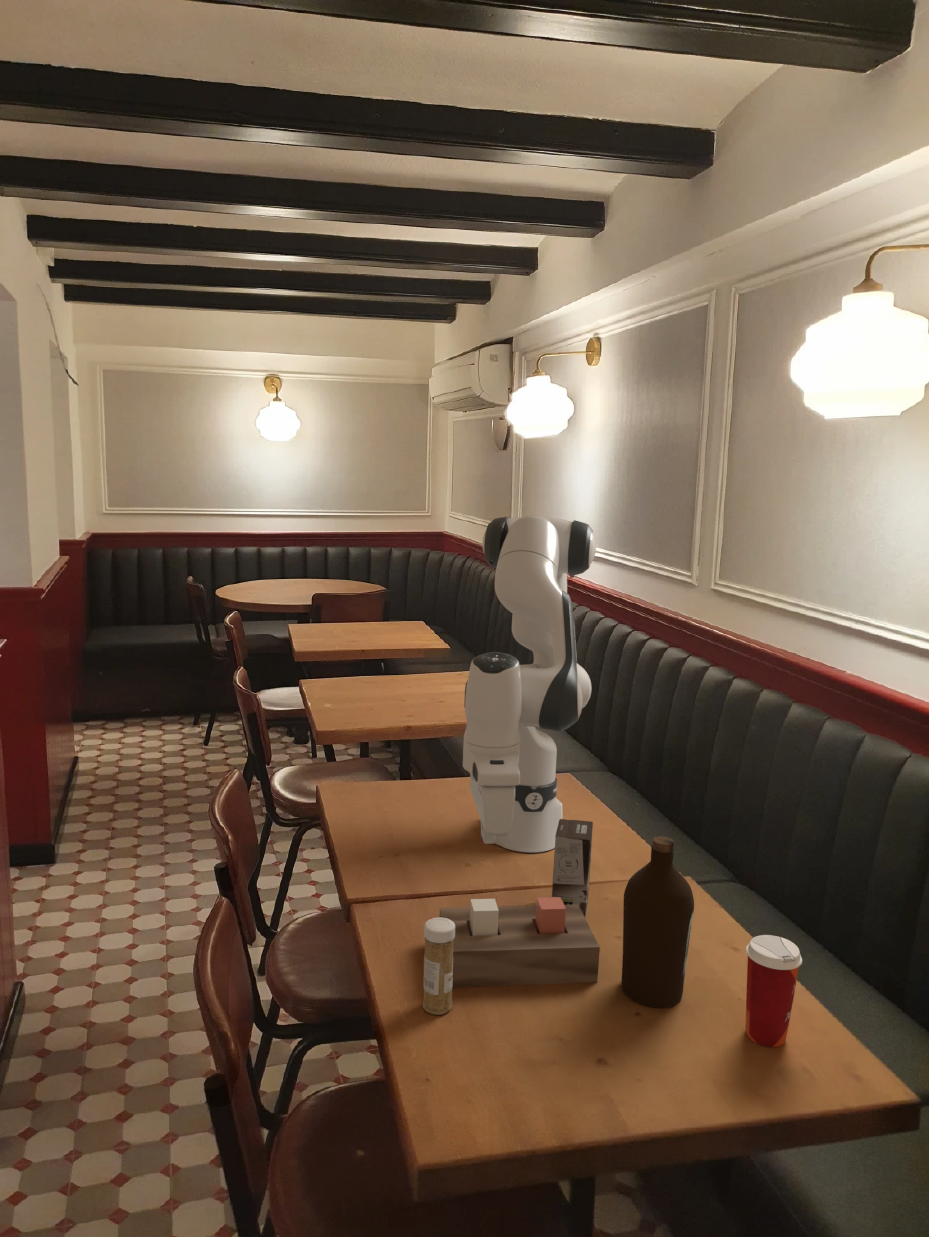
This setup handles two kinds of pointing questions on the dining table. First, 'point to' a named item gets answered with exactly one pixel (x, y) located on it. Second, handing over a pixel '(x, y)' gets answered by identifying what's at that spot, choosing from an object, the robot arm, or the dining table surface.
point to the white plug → (483, 917)
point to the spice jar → (438, 965)
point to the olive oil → (656, 930)
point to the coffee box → (572, 862)
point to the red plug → (550, 915)
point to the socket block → (522, 950)
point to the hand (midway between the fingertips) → (487, 839)
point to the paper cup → (770, 988)
